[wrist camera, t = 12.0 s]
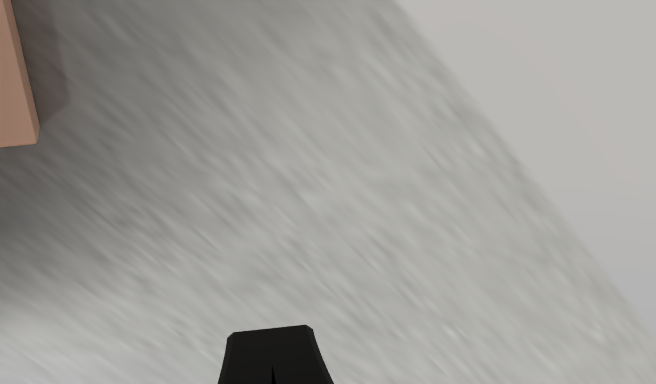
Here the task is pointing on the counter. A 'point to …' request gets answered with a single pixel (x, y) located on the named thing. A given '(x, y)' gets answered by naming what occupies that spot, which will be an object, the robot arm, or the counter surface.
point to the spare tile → (14, 86)
